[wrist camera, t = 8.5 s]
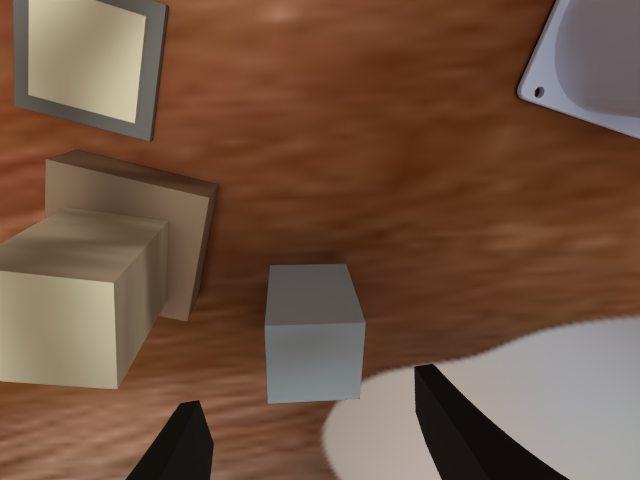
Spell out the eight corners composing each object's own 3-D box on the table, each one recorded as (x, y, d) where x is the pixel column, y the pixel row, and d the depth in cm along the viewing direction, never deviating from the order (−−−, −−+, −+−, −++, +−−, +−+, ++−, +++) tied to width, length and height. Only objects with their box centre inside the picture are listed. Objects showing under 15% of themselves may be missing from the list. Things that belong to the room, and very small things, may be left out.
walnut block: (219, 182, 20) (209, 198, 17) (199, 292, 23) (187, 321, 20) (81, 148, 19) (46, 159, 16) (75, 268, 21) (44, 295, 19)
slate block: (346, 263, 22) (365, 322, 17) (342, 326, 24) (359, 398, 18) (270, 265, 22) (264, 325, 16) (272, 328, 24) (268, 403, 18)
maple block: (168, 220, 18) (113, 282, 12) (166, 302, 19) (117, 389, 14) (65, 207, 17) (-41, 266, 12) (72, 292, 19) (-18, 379, 13)
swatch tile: (168, 6, 17) (164, 3, 16) (152, 140, 19) (148, 141, 18) (19, -43, 15) (9, -48, 15) (20, 105, 18) (11, 106, 17)
